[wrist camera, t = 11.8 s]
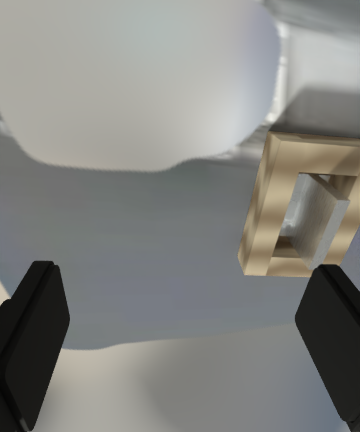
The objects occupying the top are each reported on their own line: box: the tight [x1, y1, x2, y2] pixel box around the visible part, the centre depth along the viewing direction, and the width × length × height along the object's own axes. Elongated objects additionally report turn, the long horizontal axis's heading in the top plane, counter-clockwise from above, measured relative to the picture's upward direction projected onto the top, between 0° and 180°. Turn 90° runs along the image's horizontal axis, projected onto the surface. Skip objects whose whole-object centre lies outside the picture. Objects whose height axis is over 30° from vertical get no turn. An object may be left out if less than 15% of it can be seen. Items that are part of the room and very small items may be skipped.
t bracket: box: [279, 172, 350, 270], centre depth 37 cm, size 10×5×8 cm, turn 174°
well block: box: [237, 131, 360, 277], centre depth 39 cm, size 20×14×4 cm
